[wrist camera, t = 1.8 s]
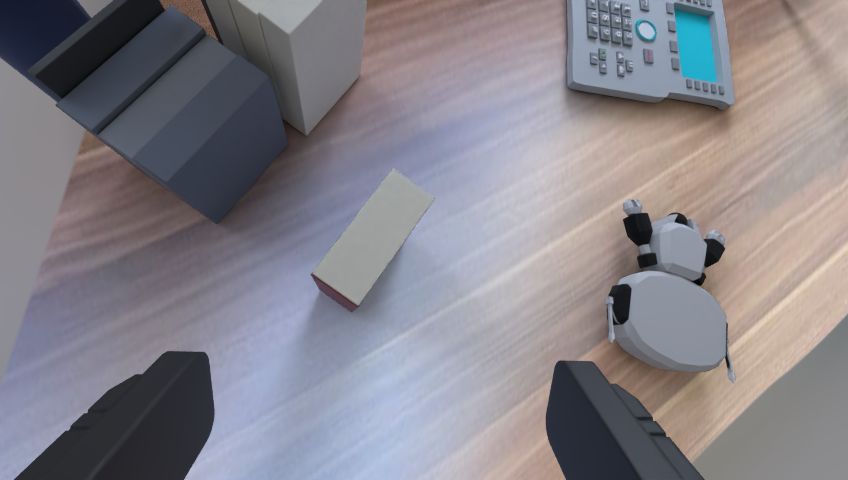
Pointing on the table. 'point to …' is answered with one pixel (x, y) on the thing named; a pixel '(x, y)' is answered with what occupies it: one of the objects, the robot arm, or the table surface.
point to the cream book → (371, 240)
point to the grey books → (169, 101)
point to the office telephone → (650, 50)
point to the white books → (296, 49)
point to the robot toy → (669, 296)
